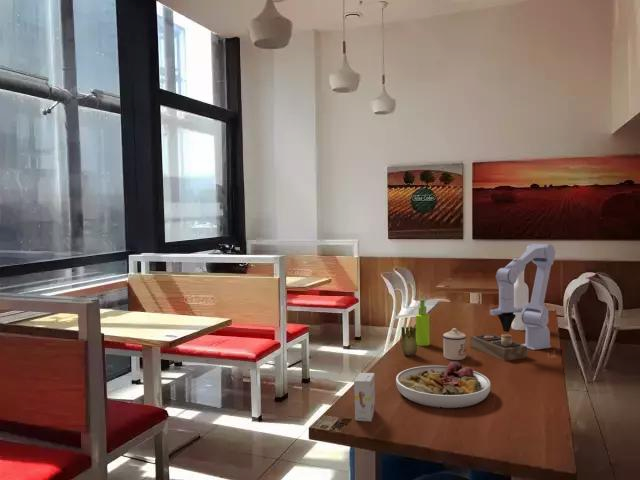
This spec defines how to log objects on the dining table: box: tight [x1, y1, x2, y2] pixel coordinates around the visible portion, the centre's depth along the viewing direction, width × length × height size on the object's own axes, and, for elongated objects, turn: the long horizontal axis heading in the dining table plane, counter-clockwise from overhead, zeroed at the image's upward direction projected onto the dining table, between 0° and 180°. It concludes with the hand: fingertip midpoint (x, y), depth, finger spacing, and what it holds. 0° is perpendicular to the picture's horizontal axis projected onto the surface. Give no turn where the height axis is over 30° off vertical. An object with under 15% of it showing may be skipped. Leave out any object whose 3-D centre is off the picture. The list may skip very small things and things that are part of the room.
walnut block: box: [469, 333, 528, 362], centre depth 220 cm, size 11×22×5 cm, turn 20°
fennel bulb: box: [400, 325, 418, 357], centre depth 219 cm, size 6×5×12 cm
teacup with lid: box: [442, 327, 467, 361], centre depth 216 cm, size 12×9×12 cm
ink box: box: [353, 372, 376, 422], centre depth 157 cm, size 9×5×12 cm, turn 165°
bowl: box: [395, 360, 492, 409], centre depth 174 cm, size 30×30×8 cm
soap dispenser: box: [415, 298, 431, 347], centre depth 235 cm, size 6×7×20 cm
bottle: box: [511, 269, 530, 331], centre depth 259 cm, size 8×8×30 cm
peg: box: [500, 333, 513, 345], centre depth 215 cm, size 4×4×5 cm
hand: (506, 331), depth 215 cm, fingers closed
